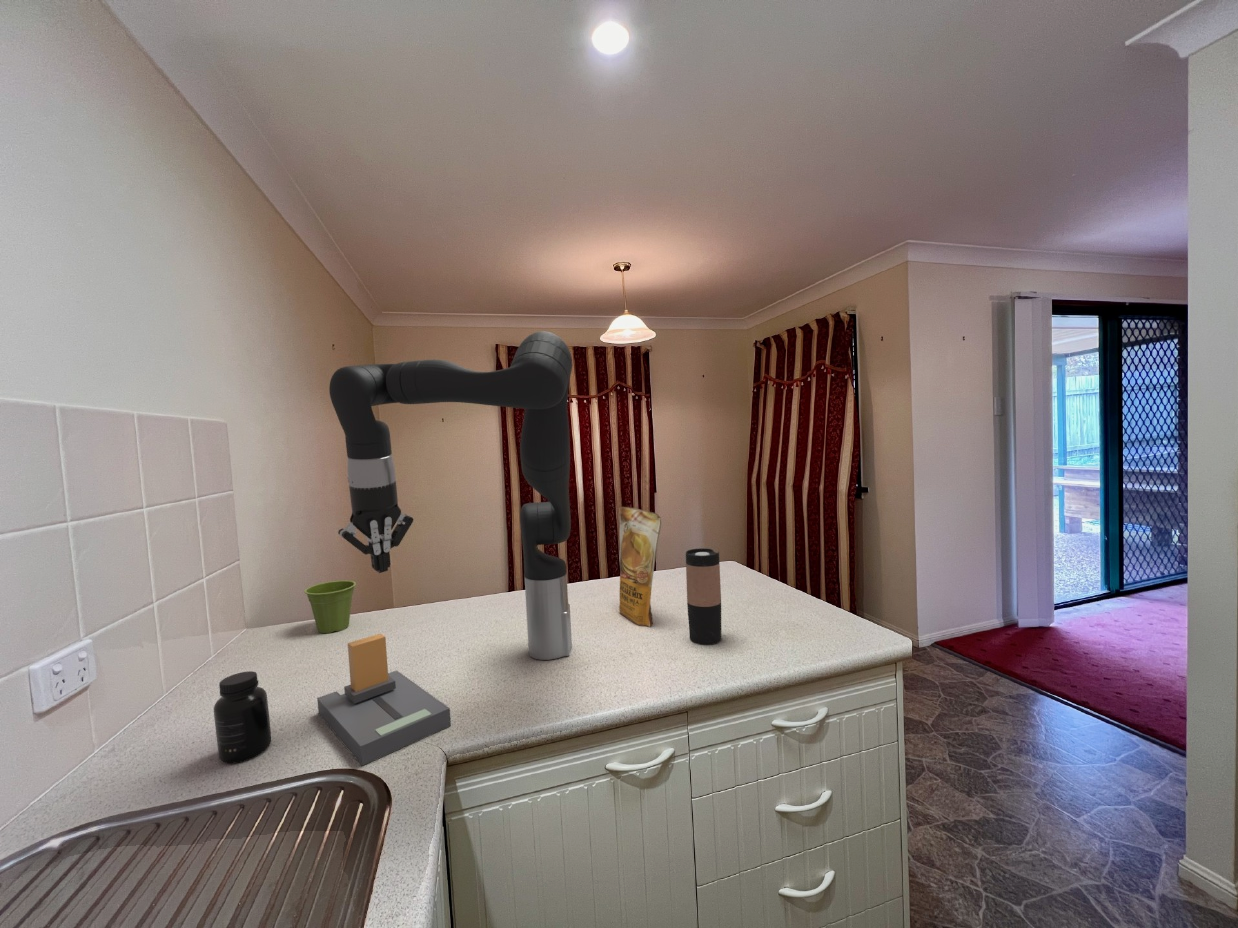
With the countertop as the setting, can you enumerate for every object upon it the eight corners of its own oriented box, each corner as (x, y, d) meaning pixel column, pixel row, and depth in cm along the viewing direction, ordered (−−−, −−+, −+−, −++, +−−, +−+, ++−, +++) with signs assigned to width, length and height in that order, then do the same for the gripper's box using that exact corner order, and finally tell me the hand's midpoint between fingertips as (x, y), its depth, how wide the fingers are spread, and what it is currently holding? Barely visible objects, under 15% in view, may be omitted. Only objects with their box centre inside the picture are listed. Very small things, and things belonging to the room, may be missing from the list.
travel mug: (684, 643, 116) (681, 555, 115) (693, 630, 123) (689, 547, 122) (719, 647, 113) (715, 556, 112) (725, 634, 120) (722, 548, 119)
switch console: (318, 714, 92) (317, 696, 92) (397, 685, 102) (396, 669, 102) (362, 765, 77) (360, 744, 76) (450, 725, 86) (449, 706, 86)
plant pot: (300, 640, 129) (296, 595, 128) (316, 623, 140) (313, 582, 140) (352, 633, 131) (349, 590, 131) (363, 618, 143) (361, 578, 142)
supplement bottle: (236, 740, 85) (230, 669, 84) (280, 737, 85) (274, 665, 85) (207, 767, 78) (200, 689, 77) (255, 762, 79) (248, 685, 78)
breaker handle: (344, 694, 92) (340, 642, 91) (385, 679, 97) (381, 630, 96) (354, 703, 88) (350, 649, 88) (395, 688, 93) (392, 637, 93)
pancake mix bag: (633, 604, 144) (629, 504, 143) (668, 625, 127) (663, 512, 126) (611, 608, 141) (606, 507, 140) (644, 631, 124) (638, 515, 123)
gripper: (339, 492, 84) (351, 589, 88) (418, 477, 93) (425, 566, 98) (324, 483, 89) (336, 575, 93) (400, 470, 98) (408, 554, 103)
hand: (381, 570), depth 95 cm, fingers closed
